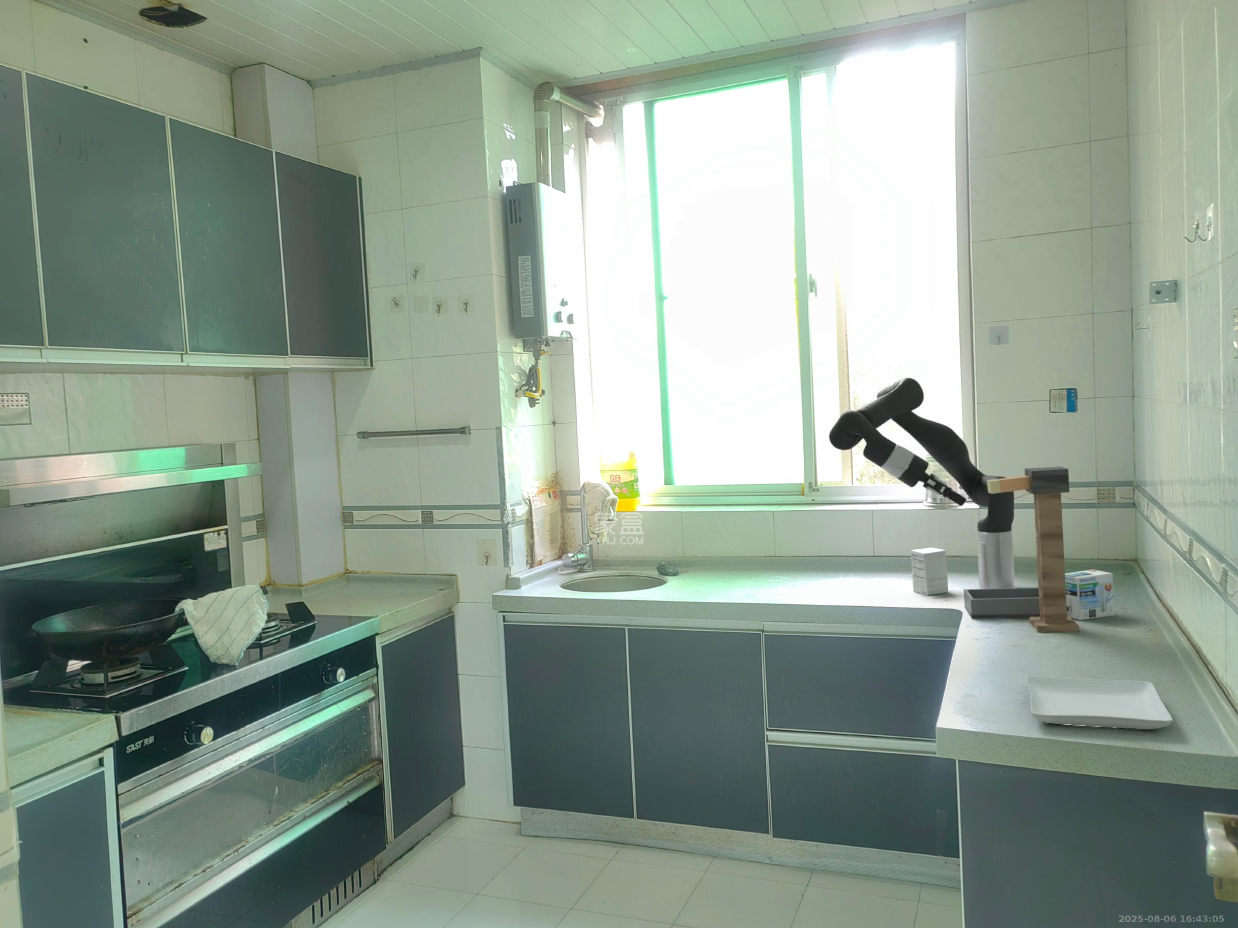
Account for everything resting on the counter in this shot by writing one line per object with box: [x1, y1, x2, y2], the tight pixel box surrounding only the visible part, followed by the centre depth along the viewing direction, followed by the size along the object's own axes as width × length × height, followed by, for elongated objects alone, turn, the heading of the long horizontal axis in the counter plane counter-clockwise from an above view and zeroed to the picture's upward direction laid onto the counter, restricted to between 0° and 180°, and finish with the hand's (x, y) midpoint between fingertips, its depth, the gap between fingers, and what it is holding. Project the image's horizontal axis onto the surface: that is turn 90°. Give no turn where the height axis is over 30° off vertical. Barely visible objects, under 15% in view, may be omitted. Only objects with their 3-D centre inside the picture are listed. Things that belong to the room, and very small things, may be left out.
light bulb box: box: [1065, 569, 1115, 621], centre depth 225 cm, size 11×7×11 cm, turn 105°
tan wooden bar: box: [987, 475, 1030, 494], centre depth 216 cm, size 3×14×3 cm, turn 83°
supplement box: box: [910, 547, 949, 596], centre depth 265 cm, size 7×7×13 cm
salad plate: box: [1025, 675, 1173, 730], centre depth 160 cm, size 21×21×3 cm
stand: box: [1024, 466, 1080, 633], centre depth 216 cm, size 9×9×38 cm
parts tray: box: [963, 586, 1040, 620], centre depth 235 cm, size 13×20×5 cm, turn 77°
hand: (961, 500), depth 223 cm, fingers open, 8 cm apart
